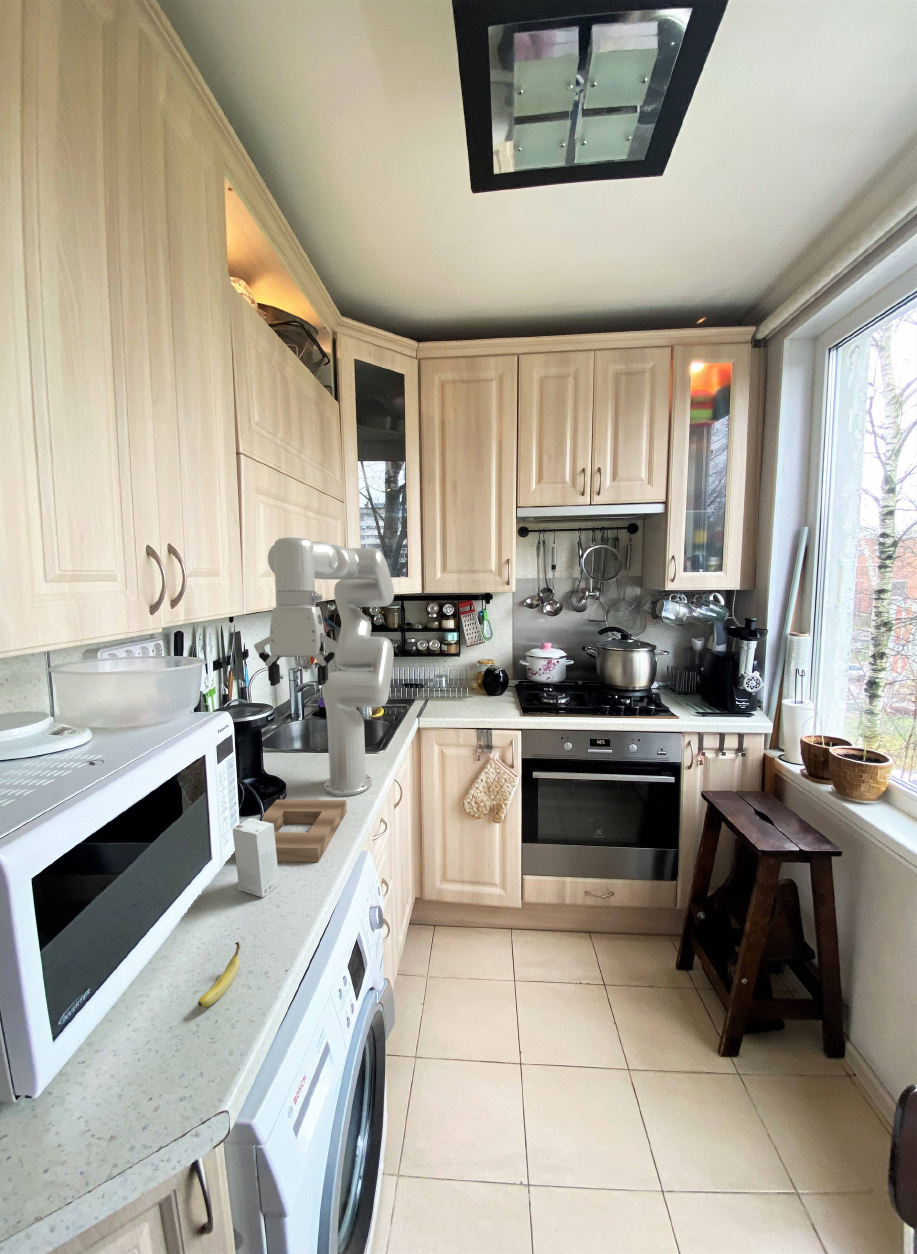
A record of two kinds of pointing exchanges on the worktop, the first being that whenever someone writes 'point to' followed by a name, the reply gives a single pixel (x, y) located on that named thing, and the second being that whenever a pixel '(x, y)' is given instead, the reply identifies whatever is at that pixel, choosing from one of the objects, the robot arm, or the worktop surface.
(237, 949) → the banana
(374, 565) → the robot arm
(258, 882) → the skincare box
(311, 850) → the socket block
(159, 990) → the worktop surface
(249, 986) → the worktop surface
